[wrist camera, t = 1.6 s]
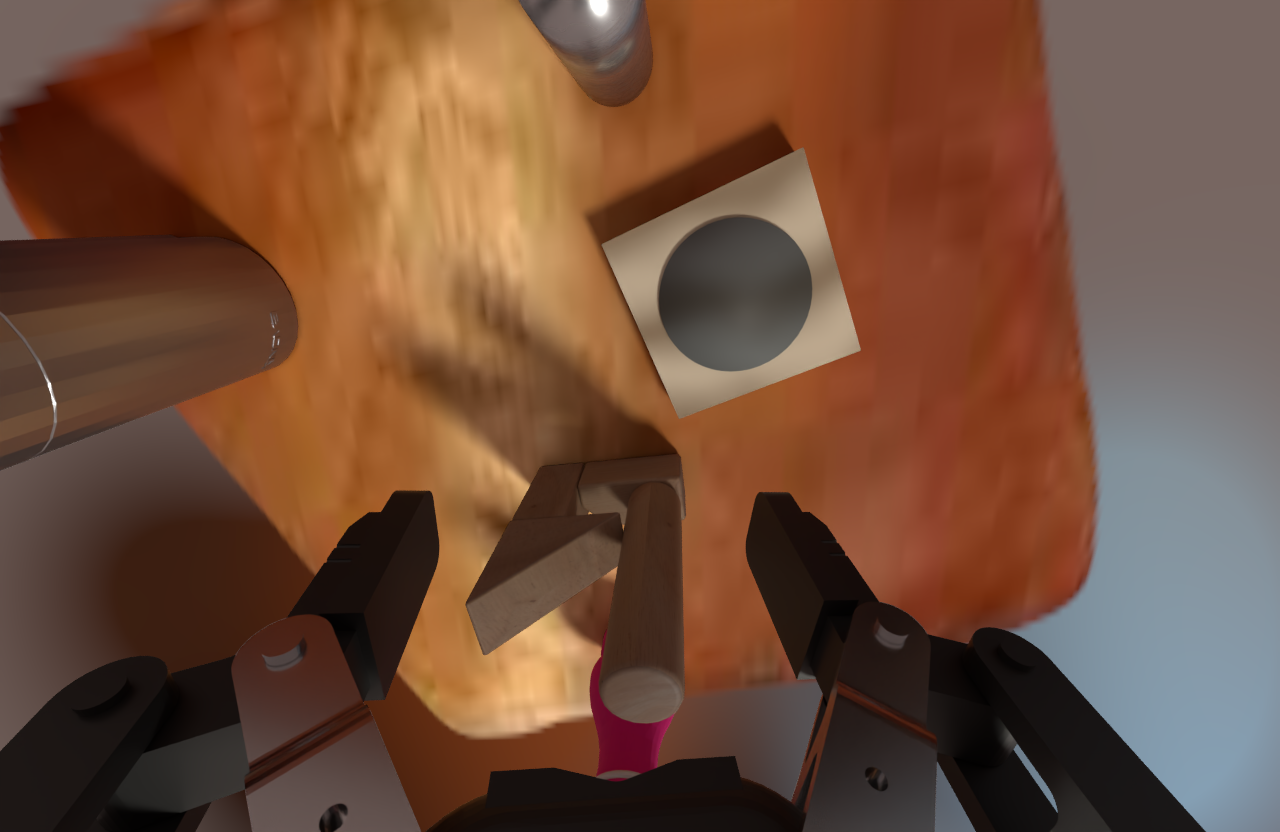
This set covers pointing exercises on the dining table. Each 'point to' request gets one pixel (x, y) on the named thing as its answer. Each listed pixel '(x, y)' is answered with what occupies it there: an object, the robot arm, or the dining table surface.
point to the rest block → (736, 287)
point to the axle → (599, 44)
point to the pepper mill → (623, 737)
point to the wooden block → (599, 572)
